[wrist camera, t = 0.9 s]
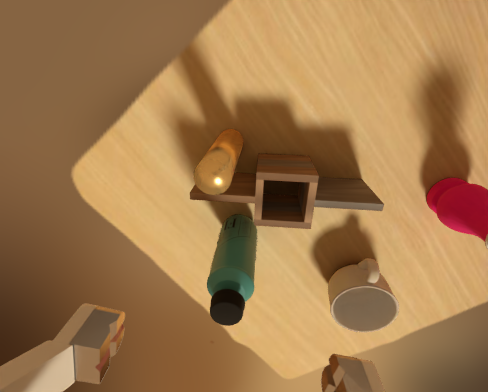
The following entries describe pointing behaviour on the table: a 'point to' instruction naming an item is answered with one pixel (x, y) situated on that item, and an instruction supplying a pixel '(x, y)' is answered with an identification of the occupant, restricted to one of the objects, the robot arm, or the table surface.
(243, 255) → the beverage bottle
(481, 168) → the table surface
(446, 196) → the pepper mill
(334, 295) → the teacup
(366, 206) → the brown winged open box
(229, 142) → the brass pin
